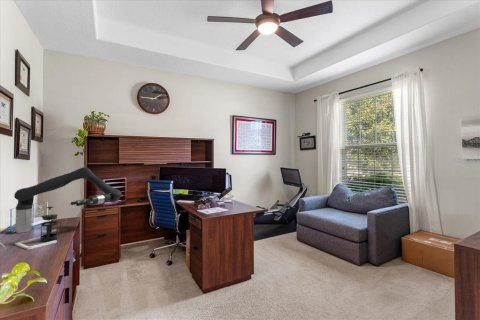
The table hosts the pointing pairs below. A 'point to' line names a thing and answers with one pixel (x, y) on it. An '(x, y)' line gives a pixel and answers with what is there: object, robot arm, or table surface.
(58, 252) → the table surface
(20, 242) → the bay
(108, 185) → the robot arm
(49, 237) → the french press
